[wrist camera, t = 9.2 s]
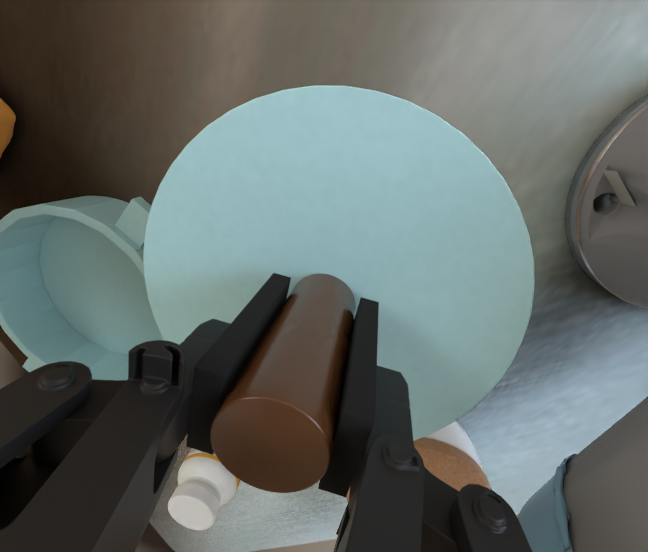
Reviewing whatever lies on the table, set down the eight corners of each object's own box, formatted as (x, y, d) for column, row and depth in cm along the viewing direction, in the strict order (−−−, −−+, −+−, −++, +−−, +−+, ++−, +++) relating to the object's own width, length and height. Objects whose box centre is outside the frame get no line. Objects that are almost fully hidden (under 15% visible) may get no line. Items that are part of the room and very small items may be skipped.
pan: (252, 269, 30) (228, 292, 25) (132, 399, 38) (97, 434, 33) (97, 127, 28) (39, 124, 23) (4, 297, 36) (-53, 320, 31)
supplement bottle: (222, 394, 35) (168, 478, 27) (269, 418, 36) (231, 509, 27) (206, 428, 38) (152, 517, 29) (251, 450, 38) (210, 545, 29)
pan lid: (613, 303, 15) (922, 520, 6) (332, 478, 21) (298, 704, 13) (316, -25, 12) (169, -394, 4) (100, 285, 19) (-135, 404, 10)
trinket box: (372, 471, 36) (368, 576, 27) (338, 388, 33) (322, 476, 24) (480, 459, 33) (514, 571, 24) (455, 367, 30) (483, 458, 21)
